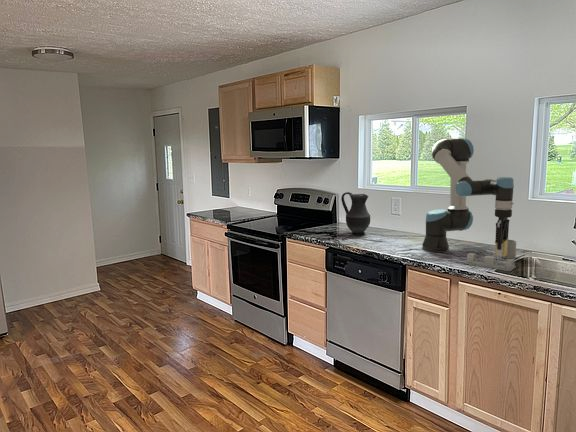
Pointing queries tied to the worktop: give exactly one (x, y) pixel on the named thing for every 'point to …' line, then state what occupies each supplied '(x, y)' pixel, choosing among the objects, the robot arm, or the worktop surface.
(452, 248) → the worktop surface
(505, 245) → the block
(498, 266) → the rail
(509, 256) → the cup
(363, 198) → the pitcher
